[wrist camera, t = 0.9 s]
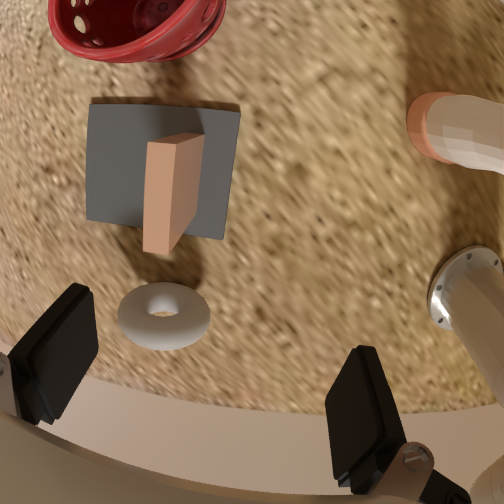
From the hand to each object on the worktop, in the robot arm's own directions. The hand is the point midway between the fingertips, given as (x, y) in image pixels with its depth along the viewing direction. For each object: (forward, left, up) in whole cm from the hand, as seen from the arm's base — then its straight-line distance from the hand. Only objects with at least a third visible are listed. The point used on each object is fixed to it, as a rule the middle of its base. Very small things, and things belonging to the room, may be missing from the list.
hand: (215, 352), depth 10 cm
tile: (+6, -1, -22) cm, 23 cm away
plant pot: (+11, -17, -23) cm, 31 cm away
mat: (+10, -1, -23) cm, 25 cm away
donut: (+7, +13, -23) cm, 27 cm away
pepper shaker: (-18, -11, -23) cm, 31 cm away
